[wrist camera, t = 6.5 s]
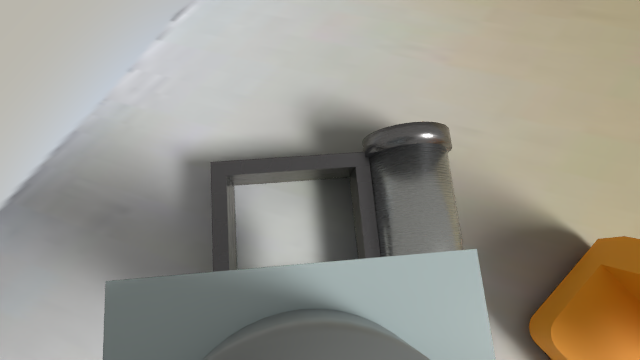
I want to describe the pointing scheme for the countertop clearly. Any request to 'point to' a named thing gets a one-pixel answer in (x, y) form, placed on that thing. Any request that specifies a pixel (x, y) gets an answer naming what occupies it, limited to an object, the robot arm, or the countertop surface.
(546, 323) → the bracket
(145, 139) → the countertop surface
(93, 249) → the countertop surface
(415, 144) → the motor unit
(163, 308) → the grey capped bottle
